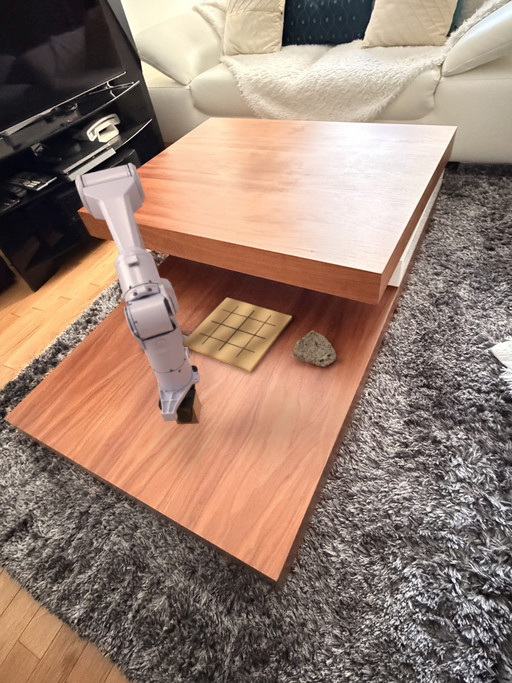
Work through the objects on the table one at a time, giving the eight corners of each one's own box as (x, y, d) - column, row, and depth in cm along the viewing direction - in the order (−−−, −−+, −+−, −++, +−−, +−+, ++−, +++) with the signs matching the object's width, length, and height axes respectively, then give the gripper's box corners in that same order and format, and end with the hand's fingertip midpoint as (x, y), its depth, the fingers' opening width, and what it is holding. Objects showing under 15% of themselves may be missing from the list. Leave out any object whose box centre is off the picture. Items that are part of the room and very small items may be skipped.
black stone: (199, 423, 70) (193, 407, 67) (177, 424, 70) (170, 408, 67) (201, 405, 73) (196, 389, 70) (181, 406, 73) (174, 390, 70)
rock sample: (331, 368, 79) (310, 330, 80) (302, 381, 84) (283, 345, 84) (349, 354, 87) (330, 320, 88) (322, 366, 92) (304, 334, 92)
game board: (181, 345, 95) (181, 343, 94) (227, 299, 106) (226, 296, 106) (250, 372, 86) (250, 369, 85) (292, 318, 98) (292, 315, 97)
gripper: (186, 394, 56) (205, 444, 65) (198, 327, 66) (213, 379, 76) (138, 396, 56) (164, 446, 66) (158, 330, 67) (178, 381, 76)
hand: (188, 410), depth 71 cm, fingers closed on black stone, 4 cm apart
